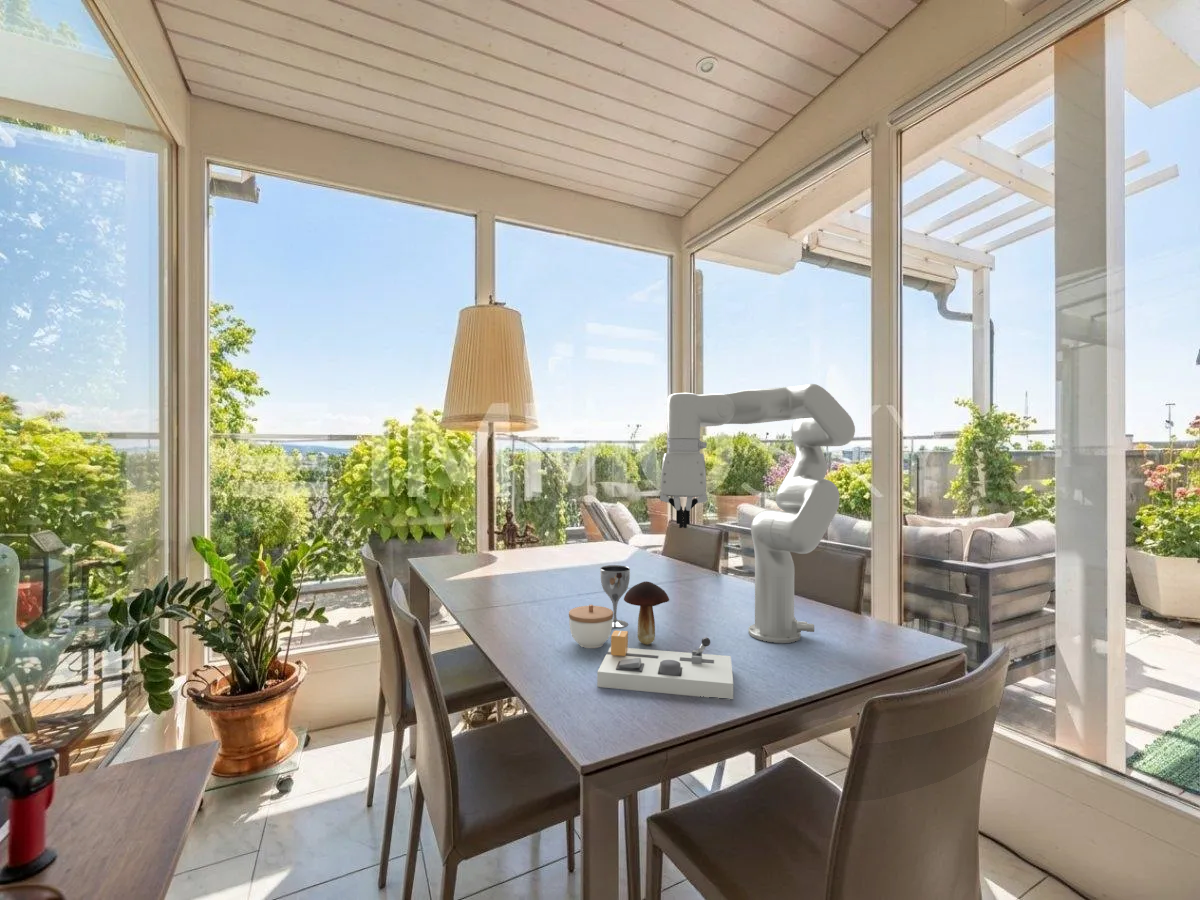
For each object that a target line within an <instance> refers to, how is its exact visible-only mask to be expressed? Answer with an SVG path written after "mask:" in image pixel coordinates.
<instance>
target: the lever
mask: <svg viewBox="0 0 1200 900" xmlns="http://www.w3.org/2000/svg"><path fill="white" fill-rule="evenodd" d="M710 645H711V640H710V638H709V637H707V636H705V637H703V638H702V639H701V644H700V646H699V648H698V649H697V652H696V654H695V656H701V654H703V653H704V651H705V650H706V648H707V647H709V646H710Z"/></svg>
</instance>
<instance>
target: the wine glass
mask: <svg viewBox="0 0 1200 900" xmlns="http://www.w3.org/2000/svg"><path fill="white" fill-rule="evenodd" d="M599 570H600V573H599V574H600V581H601V582H600V583H601V588H602V590H603V592H604V593H605V594H606V595H607V596H608V598H609V599H610V601H611V603H612V609H613V610H612V611H613V625H612V629H624V628H626V627H628V626H629V623H628V622H627V621H625V620H622V619H618V618H617V610H618V604H619V602H620V599H621V598H622V597H623V595H624V594H626V593H627V591H628V588H629V584H630V576H631V568H630V567H629V566H626V565H619V564H618V565H616V564H611V565H603V566H601V567H600V569H599Z"/></svg>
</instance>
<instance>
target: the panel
mask: <svg viewBox="0 0 1200 900" xmlns="http://www.w3.org/2000/svg"><path fill="white" fill-rule="evenodd" d="M697 651H698V649H697V650H695V649H692V651H691V652H685V651H684V652H681V651H668V650H659V649H658V650H657V649H644V648H632V647H628V650H627V653H626V655H625V656H620V655H611V646H609V648H608V650H607V652H606V655H605V656H604V658H603V660H602V662H601V663H600V666H599V668H598V670H597V672H596V673H597V675H596V676H597V677H596V679H597V682H596V683H597V688H606V689H616V690H626V691H637V692H649V693H659V694H668V695H676V696H677V695H678V696H687V697H688V696H690V697H698V698H699V697H700V696H701V697H700V698H709V697H718V698H717V699H719V698H730V699H733V700H734V678H733V677H734V675H733V667H732V666H733V665H732V656H731V655H719V654H708V653H702V654H701V656H695V654H696V652H697ZM663 660H675V661H678V662H679V663H680V676H670V675H660V662H661V661H663ZM703 696H704V697H703ZM730 699H729V700H730Z"/></svg>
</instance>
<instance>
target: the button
mask: <svg viewBox="0 0 1200 900" xmlns="http://www.w3.org/2000/svg"><path fill="white" fill-rule="evenodd" d="M660 675H670V676H680V663H679V662H678V661H675V660H663V661H661V662H660Z"/></svg>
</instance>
